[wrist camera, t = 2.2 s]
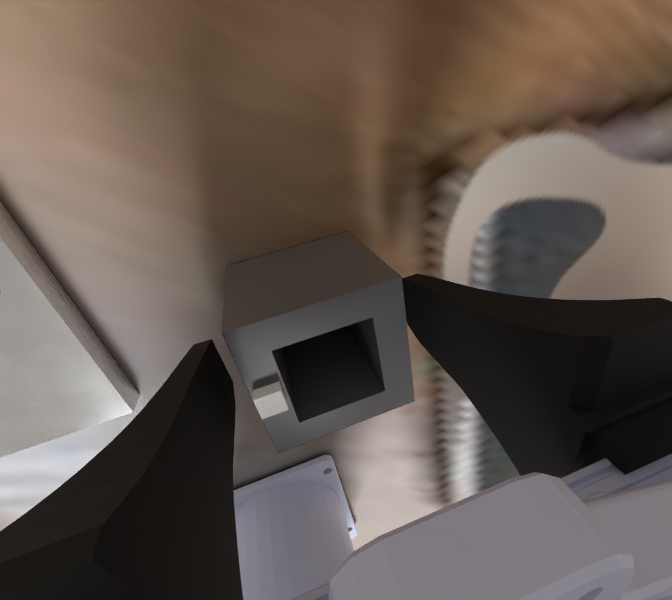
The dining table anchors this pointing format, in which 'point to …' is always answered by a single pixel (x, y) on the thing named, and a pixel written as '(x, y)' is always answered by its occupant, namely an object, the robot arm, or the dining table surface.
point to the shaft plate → (48, 354)
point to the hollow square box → (318, 337)
